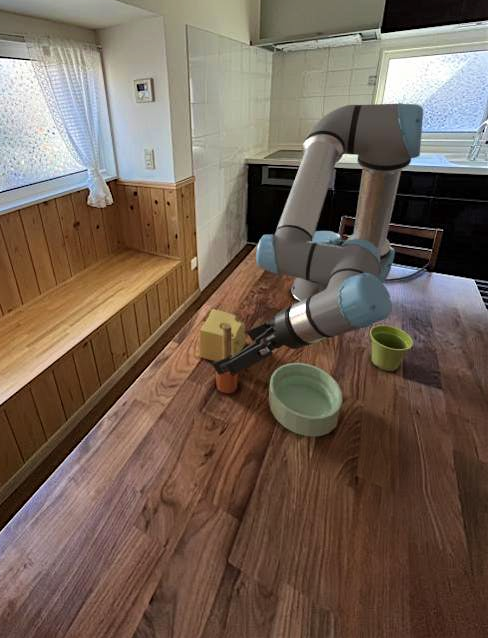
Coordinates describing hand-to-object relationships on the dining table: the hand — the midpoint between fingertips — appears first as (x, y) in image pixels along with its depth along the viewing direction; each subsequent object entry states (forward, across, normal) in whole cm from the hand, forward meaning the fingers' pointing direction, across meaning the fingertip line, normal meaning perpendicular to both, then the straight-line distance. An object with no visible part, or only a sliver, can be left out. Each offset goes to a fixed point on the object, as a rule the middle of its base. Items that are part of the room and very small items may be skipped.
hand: (234, 351), depth 77 cm
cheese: (+16, +9, -2) cm, 19 cm away
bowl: (-2, +6, -19) cm, 20 cm away
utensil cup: (+10, 0, -7) cm, 13 cm away
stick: (+10, 0, -7) cm, 12 cm away
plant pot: (-9, +32, -27) cm, 43 cm away
